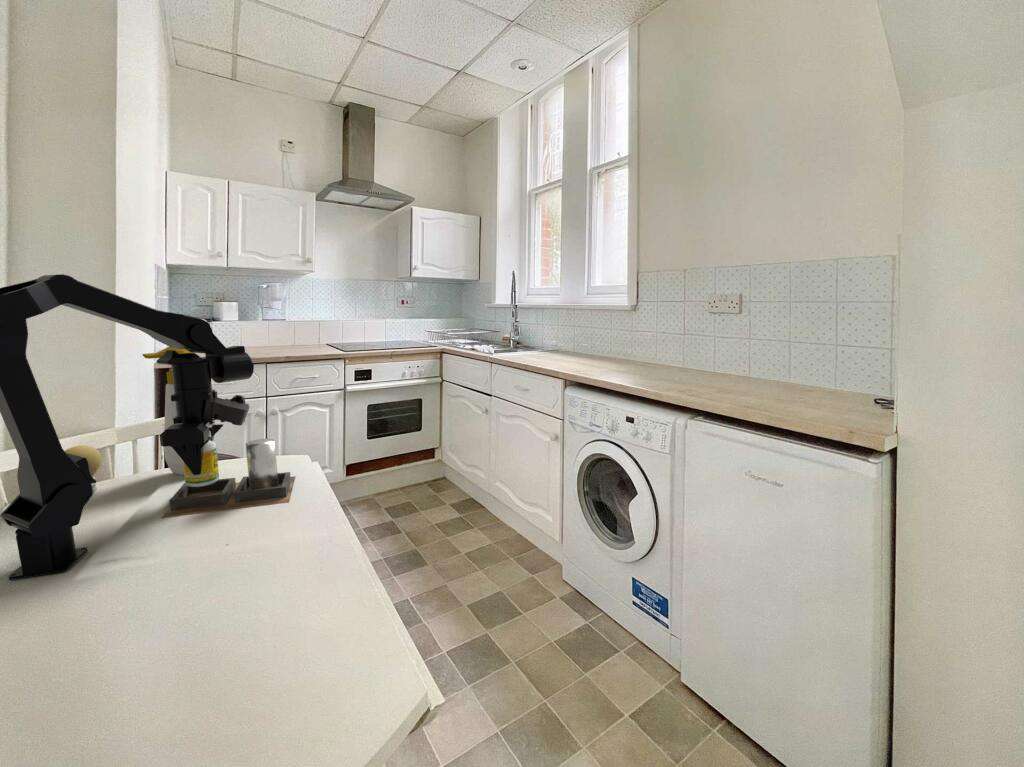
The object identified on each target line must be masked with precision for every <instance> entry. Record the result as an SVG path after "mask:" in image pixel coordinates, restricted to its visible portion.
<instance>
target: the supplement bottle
mask: <svg viewBox="0 0 1024 767" xmlns="http://www.w3.org/2000/svg"><path fill="white" fill-rule="evenodd" d="M209 437H211V432H210V431H209ZM217 449H218V448H217V444H216V442H215V441H214V440H213V441H210V440H209V441H208V442H207V443H206V444H205V445H204V447H203V458H202V469H201V474H199V475H193V473H192V472H191V471H190V469H189V468H188V467H187V465H186V464H185V463H184V461H183V466H184V475H183V477H184V483H185V484H186V485H187V486H191V487H201V486H206V485H210V484H213V483H215V482H216V481H218V480H219V479H220V472H219V460H218V451H217Z"/></svg>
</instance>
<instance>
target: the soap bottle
mask: <svg viewBox="0 0 1024 767" xmlns="http://www.w3.org/2000/svg"><path fill="white" fill-rule="evenodd" d="M167 350H174V351H176V352H177V353H178V354H182V353H192V352H189V351H187V350H186V349H176V348H172V347H169V346H167V347H165V348H163V349H161V350H159V351H155V352H150V353H141V354H142V357H144V359H159V358H160V357H161V356H163V355H164V354H165V352H166V351H167ZM168 370H169V371H166V379H167V383H166V384H165V394H164V395H165V398H164V399H165V401H164V430H163V432H164V431H165V430H166V429H167V428H168V427H170V426H171V425H175V424H174V422H173V418H175V417H176V416H177V413H176V404H175V401H171V395H173V394H174V385H173V376H172V368H169V369H168ZM163 455H164V461H165V462H166V464H167V466H168V468H169V470H170V471H171V472H172V473H174V474H175V475H181V476H184V466H183V460H182V459H181V458H180V456H179V455H178V454H177V453H176V452H175V450H174V449H173V448H172V447H170V446H166V447H163Z"/></svg>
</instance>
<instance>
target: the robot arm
mask: <svg viewBox="0 0 1024 767" xmlns="http://www.w3.org/2000/svg"><path fill="white" fill-rule="evenodd" d="M60 306H64V307H68V308H70V309H74V310H76V311H80V312H83V313H86V314H89V315H92V316H95V317H99V318H101V319H105V320H108V321H111V322H114V323H117V324H120V325H123V326H126V327H128V328H133V329H136V330H138V331H141V332H143V333H144V334H147V335H148V336H149V337H151V338H152V339H154V340H155V341H158V342H159V343H162V344H163V345H164V346H165V345H166V346H167V347H172V348H176V349H186V350H187V351H189V352H192V353H182V354H178V353H177V352H176V351H174V350H167V351H166V352H165V354H164V355H163V356H161V357H160V358H157V359H156V364H158V365H166V366H169V365H170V366H171V369H172V376H173V385H174V394H173V395H171V401H175V404H176V413H177V416H176V417H175V418H173V422H174V424H175V425H171V426H170V427H168V428H167V429H166V430H165V431H164V430H163V432H161V433H160V434H159V441H160V447H163V448H164V447H166V446H170V447H172V448H173V449H174V450H175V452H176V453H177V454H178V455H179V456H180V458H181V459H182V460H183V461H184V463H185V464H186V465H187V467H188V468H189V469H190V471H191V472H192V473H193V475H199V474H201V469H202V458H203V447H204V445H205V444H206V443H207V442H208V441H209V440H210V441H213V442H214V438H215V435H216V434H217V433H218V432H219V431H220V430H221V429H222V428H223V427H224V424H223V423H225V422H226V423H230V424H232V425H235V426H242V425H243V424H244V422H246V418H247V416H248V413H249V410H250V405H249V403H246V399H245V396H243V395H239V394H235V395H234V396H233V397H232V398H231V399H229V398H222V397H219V396H218V391H217V390H216V389H213V386H212V384H213V383H212V381H213V382H214V383H216V384H223V383H231V382H236V381H243V380H249V379H250V378H252V376H253V373H254V369H255V366H254V362H253V360H252V358H251V356H250V355H249V354H248V353H247V352H246V349H245V348H246V347H245V346H244V345H231V346H229V347H228V346H227V347H226V346H225V345H224V344H223V343H222V342H221V340H220V339H219V338H218V337H217V336H216V335H215V334H214V333H213V328H212V326H211V324H210V323H209V322H208V320H206V319H205V318H202V317H197V316H191V315H186V314H182V313H175V312H169V311H163V310H159V309H156V308H153V307H150V306H148V305H145V304H142V303H139V302H136V301H134V300H131V299H129V298H127V297H123V296H121V295H118V294H115V293H112V292H110V291H107V290H104V289H102V288H98V287H95V286H93V285H90V284H87V283H85V282H83V281H80V280H78V279H76V278H75V277H73V276H70V275H67V274H65V273H64V274H63V273H61V274H44V275H41V276H39V277H38V278H35V279H32V280H27V281H22V282H19V283H15V284H12V285H11V284H10V285H7V286H3V287H0V415H1V417H2V420H3V423H4V425H5V427H6V430H7V431H8V434H9V436H10V438H11V441H12V443H13V445H14V448H15V450H16V452H17V455H18V467H17V473H16V474H17V476H16V478H17V484H18V490H19V494H18V495H17V496H16V498H14V499H13V501H11V503H10V504H9V505H8V506H7V507H6V508H5V509H4V510H3V511H2V512H1V514H0V518H1V519H2V520H3V521H4V522H5V523H6V524H7V526H9V527H13V528H16V530H15V531H14V532H15V540H16V545H17V551H18V556H19V563H20V566H18V567H17V568H16V569H15V570H14V571H13V572H11V573H10V574H9V575H8V576H7V577H8V580H11V581H12V580H17V579H25V578H31V577H37V576H44V575H52V574H58V573H63V572H68V570H70V569H71V567H73V566H74V565H75V563H77V562H78V561H79V560H80V559H81V558H82V557H83V556H84V555H85V554H86V553H87V552H88V550H89V549H88V546H87V547H86V546H85V547H76V543H75V537H74V529H73V527H75V526H77V525H79V524H80V521H81V518H82V514H83V511H84V507H85V506H86V505H87V504H88V502H89V501H90V499H91V498H92V497H93V495H94V493H93V488H92V485H91V483H96V484H97V480H95V479H96V478H95V479H94V478H92V476H91V474H90V472H89V465H88V462H87V459H86V458H84V457H80V456H77V455H73V454H69V453H65V450H64V449H63V447H62V444H61V442H60V439H59V436H58V434H57V432H56V429H55V427H54V424H53V421H52V419H51V417H50V414H49V412H48V409H47V406H46V403H45V401H44V399H43V397H42V394H41V391H40V389H39V385H38V384H37V380H36V379H35V376H34V373H33V371H32V368H31V366H30V364H29V360H28V358H27V347H28V340H29V339H28V338H29V330H28V322H27V319H30V318H33V317H37V316H39V315H42V314H44V313H46V312H49V311H51V310H53V309H55V308H57V307H60ZM198 354H204V356H200V355H198ZM215 421H220V423H221V424H219V423H218V424H216V422H215ZM209 431H210V432H211V437H209Z"/></svg>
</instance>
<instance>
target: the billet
mask: <svg viewBox="0 0 1024 767" xmlns="http://www.w3.org/2000/svg"><path fill="white" fill-rule="evenodd" d="M276 449H277V448H276V441H275V439H274V438H258V439H253V440H250V441H248V442H246V443H245V452H246V462H247V473H248V476H249V487H250V490H251V489H260V488H269V487H278V486H279V485H278V473H279V472H278V463H277V461H278V460H277V450H276Z"/></svg>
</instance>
